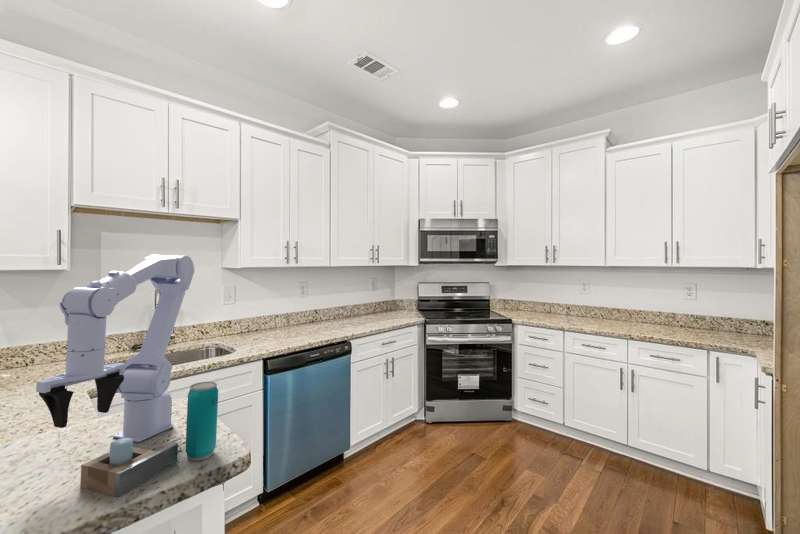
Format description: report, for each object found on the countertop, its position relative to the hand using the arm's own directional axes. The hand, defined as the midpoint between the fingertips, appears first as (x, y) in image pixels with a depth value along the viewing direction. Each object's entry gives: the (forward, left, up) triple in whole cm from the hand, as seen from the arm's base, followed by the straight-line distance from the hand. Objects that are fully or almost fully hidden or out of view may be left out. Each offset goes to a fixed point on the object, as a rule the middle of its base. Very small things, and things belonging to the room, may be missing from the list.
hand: (82, 418), depth 72 cm
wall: (-2, +15, -10) cm, 18 cm away
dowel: (0, +10, -10) cm, 14 cm away
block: (0, +10, -10) cm, 14 cm away
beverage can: (-12, +17, -10) cm, 23 cm away
